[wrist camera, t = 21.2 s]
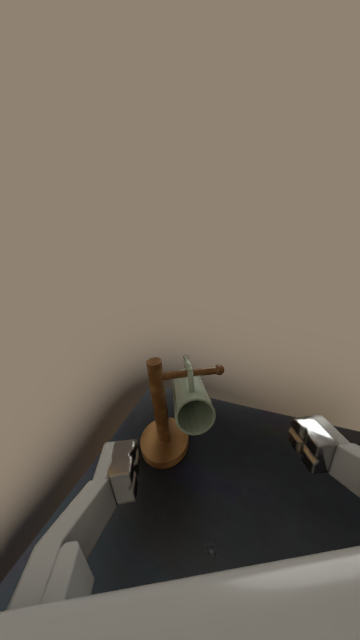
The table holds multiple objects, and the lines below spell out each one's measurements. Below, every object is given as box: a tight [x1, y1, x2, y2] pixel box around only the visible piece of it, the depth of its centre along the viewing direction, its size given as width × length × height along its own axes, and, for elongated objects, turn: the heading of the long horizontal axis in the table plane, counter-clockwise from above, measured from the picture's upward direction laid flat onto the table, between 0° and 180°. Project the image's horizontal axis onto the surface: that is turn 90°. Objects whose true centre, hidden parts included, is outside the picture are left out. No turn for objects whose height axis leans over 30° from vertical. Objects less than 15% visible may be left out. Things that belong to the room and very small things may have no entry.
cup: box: [172, 355, 216, 435], centre depth 33 cm, size 10×6×11 cm
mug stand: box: [140, 357, 224, 469], centre depth 32 cm, size 16×9×18 cm, turn 95°
